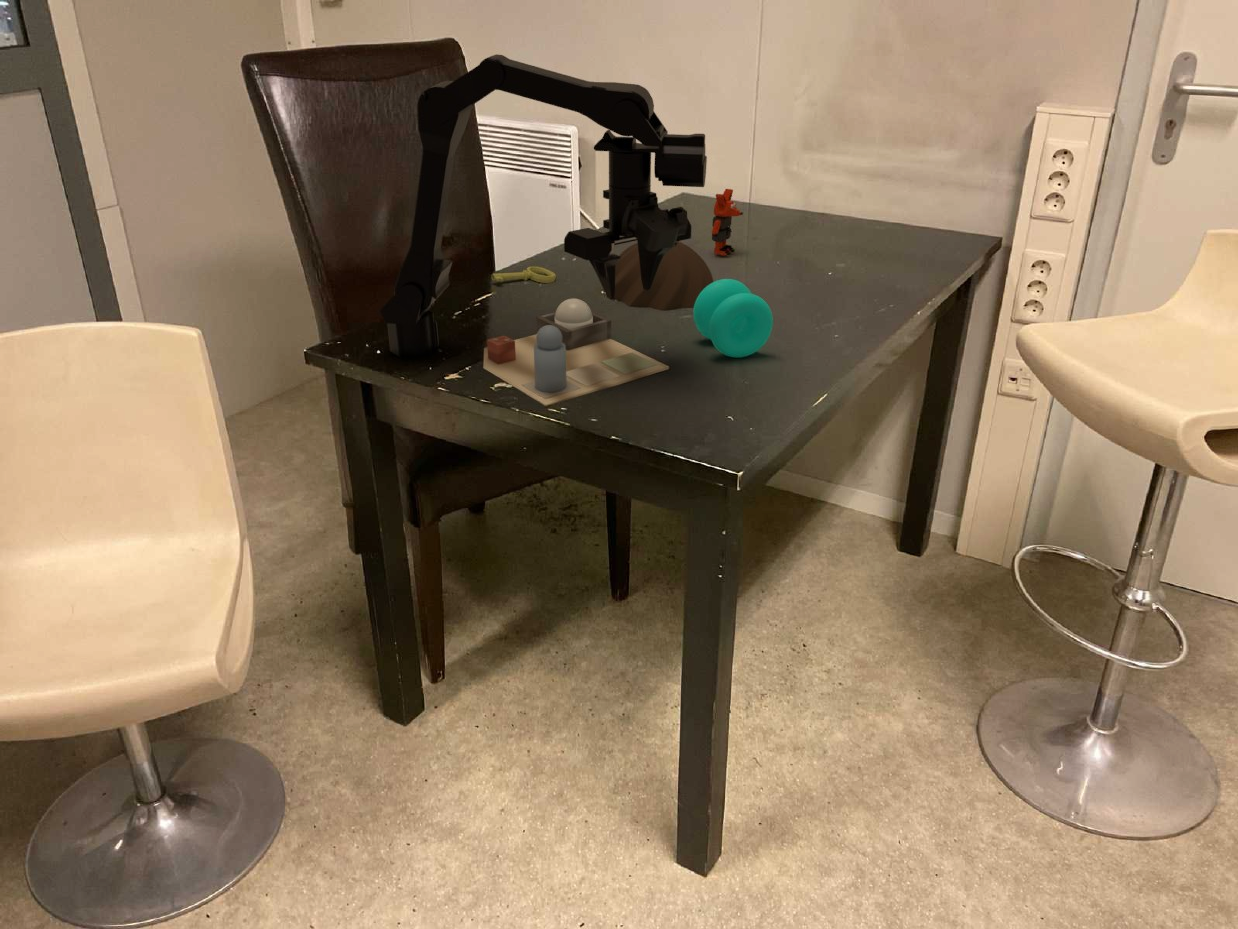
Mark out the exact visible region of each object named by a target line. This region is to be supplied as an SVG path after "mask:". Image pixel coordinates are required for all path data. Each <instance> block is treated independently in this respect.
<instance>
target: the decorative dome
mask: <svg viewBox="0 0 1238 929" xmlns="http://www.w3.org/2000/svg"><path fill="white" fill-rule="evenodd" d="M676 243H677V246H676V247H673V248H671V249H670V250H669V251H668V252H666V253H665V254H664V256H663V258H662V260H661V262H660V264H659V267H658V269H657V272H656V275H655V278H654V280H653V283H652V286H651V288H650V290H649V291H646V290H644V289H643V285H642V280H641V271H640V261H639V252H638V242H636V243H633V244H632V245H630V246H628V247H627V248H626V249H624V250H623V251H622V252H621V253H620V254H619V255H618V256H621V258H620V259H619V261H618V262H617V264H616V266H615V296H614V299H613V300H616V301H620V302H622V303H623V304H625V305H626V306H627V307H633V308H635V307H637V308H638V307H641V308H642V307H643V308H644V307H645V308H646V307H647V308H651V309H653V310H658V311H669V310H674V309H679V308H680V309H681V308H694V305H695V302H696V299H697V297H698V296H699V294H700V293H701V291H702V290H703V289H704V288H705V287H707V286H708V285H709V284H711V283H713V282H714V279H713V278H714V277H713V275H712V272H711V270H710V268H709V266H708V265H707V263H706V262H705V261H704V259H703V258H702V257H701V256H700V255H699V254H698V253H697V252H696V251H695V250H694V249H693V248H691V247H690V246H688V245H687V244H685V243H683V242H682V241H676Z"/></svg>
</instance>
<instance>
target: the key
mask: <svg viewBox="0 0 1238 929" xmlns="http://www.w3.org/2000/svg"><path fill="white" fill-rule="evenodd" d="M556 278H557V276H556V273H554V272H553V271H551V270H549V269H547V268H544V267H541V266H528V267H527V268H526V269H523V270H522V271H520V272H504V273H502V272H501V273H499V272H498V273H492V274H491V280H492V281H497V282H504V281H508V280H511V281H512V280H523V281H524V282H525V281H528V279H530V280H532V281H534V282H538V283H542V284H543V283H544V284H549V283H554V282H555V281H556Z"/></svg>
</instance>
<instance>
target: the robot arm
mask: <svg viewBox="0 0 1238 929" xmlns="http://www.w3.org/2000/svg"><path fill="white" fill-rule="evenodd" d="M494 91H501V92H504V93H508V94H512V95H514V96H515V95H516V96H518V97H521V98H525V99H529V100H534V101H536V102H540V103H544V104H547V105H550V106H554V107H558V108H560V109H561V108H562V109H564V110H568V111H572V112H575V113H578V114H581V115H582V116H585V117H587V118H588V119H590V120H591V121H592V122H594V123H595V124H597V125H598V126H600V127H602V128H605V129H607V130H606V131H605V132H604V133H603V136H601V139H599V140H598V141H597V143H595V144H594V146H593V149H594V151H595V152H608V189H603V190H602V198H603V199H606V200H608V219H604V220H603V222H602V223H603V224H602V226H603V227H602V228H604V229H607V230H608V231H607V232H602V231H599V230H597V229H593V228H590V227H585V228H580V229H575V230H570V231H568V232H567V234H566V235H565V236H564V239H563V246H564V247H563V248H564V249H563V250H564V252H565V253H568V254H569V255H573V256H575V257H578V258H580V259H581V260H582V259H583V260H585V261H589V263H590V264H591V266H592V268H593V270H594V272H595V274H596V277H597V278H598V280H599V282H600V285H601V287H602V289H603V292H604V294H605V296H606V297H607V299H609V300H612V301H613V300H615V299H614V296H615V266H616V264H617V262H618V261H619V259H620V258H621V256H619V255H618V254H615V246H616V245H623V244H626V243H627V244H628V243H631V242H636V243H638V252H639V261H640V271H641V280H642V285H643V289H644V290H646V291H649V290H650V288H651V286H652V283H653V280H654V278H655V275H656V272H657V269H658V267H659V264H660V262H661V260H662V258H663V256H664V254H665V253H666V252H668V251H669V250H670V249H671V248H673V247H676V246H677V243H676V241H679V242H682V241H686V240H690V239H692V224H691V222H690V219H688V211H687V210H686V209H685V208H684V207H683V206H679V207H673V208H670V209H667V208H665V209H661V208H660V207H659V203H658V201H659V200H658V195H657V193H656V192H653V191H651V186H652V185H651V179H652V178H651V177H652V153H654V169H653V171H654V178H655V179H657V181H658V182H661V183H662V186H663V187H688V188H689V187H690V188H704V187H706V186H705V184H706V175H707V162H708V157H707V155H706V134H705V133H693V134H675V133H674V134H672V133H671V134H669V131H668V130H667V128H666V127H665V126H664V124H663V123H662V121H661V120H660V118H659V117H658V115H657V113H656V112H655V105H654V100H653V97H652V95H651V93H650V91H649V90H648V88H646V87H644V86H642V85H640V84H637V83H636V84H635V83H628V82H627V83H625V82H615V81H613V82H611V81H608V82H607V81H605V82H603V81H588V80H584V79H582V78H578V77H574V76H571V75H567V74H563V73H559V72H557V71H553V70H549V69H546V68H542V67H539V66H535V65H532V64H528V63H524V62H521V61H518V60H514V59H510V58H508V57H507V56H505V55H502V54H497V53H496V54H494V55H493V54H492V55H491V56H489V57H485V58H484V59H483V60H482V61H480V63H479V64H478V65H477V66H475V67H474V68H472V69H470V70H469V71H468V72H466V73H464V74H463V75H462V76H460V77H458V78H456V79H455V80H446V81H445V80H444V81H441V82H440V83H439V82H438V83H437V84H435V85H433V86H431V87H428V88H427V89H426V90H424V91H423V92H422V93H420V95H419V97H418V98H417V99H418V100H417V103H416V113H417V116H416V117H417V131H418V136H419V140H420V144H421V149H422V151H421V152H422V154H421V160H420V169H419V176H418V184H417V191H416V199H415V208H414V215H413V216H414V217H413V222H412V229H411V230H412V232H411V236H410V238H411V239H410V244H409V248H408V251H407V253H406V255H405V257H404V260H403V262H402V265H401V267H400V270H399V273H398V275H397V278H396V281H395V284H394V288H393V296H392V297H391V298H390V299H389V300H388V301H387V303H385V305H383V306H382V308H380V314H381V316H382V318H383V320H384V323H385V324H386V325H387V333H388V341H389V351H390V353H393V355H395V356H397V357H398V358H399V359H400V360H401V361H403V362H404V361H410V360H414V359H419V358H423V357H426V356H431V355H435V354H440V353H442V350H441V349H440V348H439V344H440V343H439V332H438V323H437V321H436V319H434V317H435V316H434V313H433V312H432V311H430V308H433V306H434V304H435V301H436V300H437V299H438V298H439V297H440V296H441V295H442V294H443V292H444V291H445V290H446V289H447V288H448V287H449V286H450V280H449V279H450V278H449V276H450V271H451V268H452V265H453V261H452V260H451V259H444V255H443V251H442V241H443V235H444V228H445V220H446V215H447V207H448V201H449V200H448V199H449V194H450V187H451V179H452V172H453V168H454V167H453V166H454V159H455V153H456V151H457V148H458V146H459V144H460V142H461V139H462V137H463V135H464V133H465V130H466V127H467V124H468V123H469V119H470V116H471V113H472V109H473V105H475V104H476V103H478V102H480V101H481V100H483V99H484V98H485V97H487V96H488V95H490V94H492V93H493V92H494ZM612 132H613V133H612ZM614 133H615V134H617V135H620V136H616V135H615V134H614ZM637 141H638V142H637ZM639 142H640V143H639Z"/></svg>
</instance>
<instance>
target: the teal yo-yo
mask: <svg viewBox="0 0 1238 929" xmlns="http://www.w3.org/2000/svg"><path fill="white" fill-rule="evenodd" d="M692 317H693V322H694V326H695V327H696V329H697V330H698V331H699V333H700V334H701V335H702V336H703V337H705V338H706V339H708V340H710V341H711V342H712V343H711V344H713V346H714V347H715V348H716V350H718V352H720V353H721V354H722V355H724V356H726V357H729V358H730V357H731V358H745V357H748V356H751V355H753V354H755V353H756V352H758V351H759V350H760V349H762V348H763V347H764V345H765V344H766V343H767V342H768V340H769V339H770V336H771V334H772V331H773V327H774V326H773V324H774V319H773V313H772V309H771V308H770V306H769V305H768V303H767V302H766V301H765V300H764V299H763V298H762V297H760V296H758V295H757V294H754V293H752V292H751V290H750V289H749V287H747V286H746V285H745V283H743V282H741V281H739V280H737V279H731V278H722V279H718V280H715V281H713V283H711V284H709V285H708V286H707V287H705V288H704V289H703V290H702V291H701V293H700V294H699V296H698V297H697V299H696V302H695V305H694V307H693V311H692Z"/></svg>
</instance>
